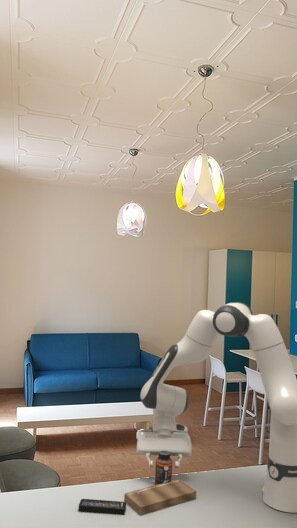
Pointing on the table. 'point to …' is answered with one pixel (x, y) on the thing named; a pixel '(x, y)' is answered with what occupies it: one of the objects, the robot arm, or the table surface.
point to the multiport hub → (102, 506)
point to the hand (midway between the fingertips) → (163, 467)
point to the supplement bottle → (163, 468)
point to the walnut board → (159, 496)
